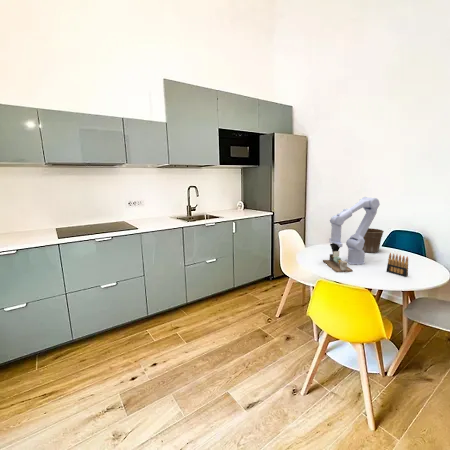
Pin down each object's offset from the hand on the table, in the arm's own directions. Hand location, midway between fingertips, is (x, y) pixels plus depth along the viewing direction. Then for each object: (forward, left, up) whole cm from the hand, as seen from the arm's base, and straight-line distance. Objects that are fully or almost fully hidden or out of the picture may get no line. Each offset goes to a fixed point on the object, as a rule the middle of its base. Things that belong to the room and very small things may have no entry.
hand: (334, 254), depth 169 cm
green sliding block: (0, +3, -4) cm, 5 cm away
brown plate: (0, +3, -7) cm, 7 cm away
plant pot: (-39, -27, -7) cm, 48 cm away
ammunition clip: (-28, +19, -7) cm, 35 cm away
